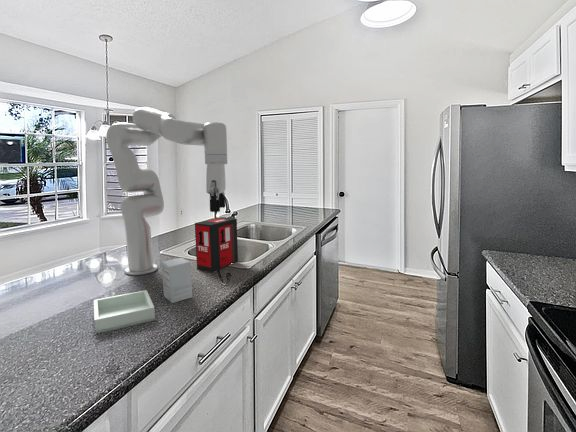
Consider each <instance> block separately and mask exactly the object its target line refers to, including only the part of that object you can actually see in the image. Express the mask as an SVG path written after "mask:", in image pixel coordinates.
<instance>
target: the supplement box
mask: <svg viewBox="0 0 576 432" xmlns="http://www.w3.org/2000/svg"><path fill="white" fill-rule="evenodd" d="M191 266H192V265H191V262H190V261H189V260H188V259H185V258H183V257H176V258H173V259H168V260H162V261H161V273H162V287H163V297H164V298H165V299H167V300H168V301H169V302H170V303H171V304H175V303H177V302H182V301H183V300H184V301H185V300H187V299H192V298H193V283H192V267H191Z"/></svg>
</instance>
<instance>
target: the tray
mask: <svg viewBox="0 0 576 432" xmlns="http://www.w3.org/2000/svg"><path fill="white" fill-rule="evenodd" d="M93 309H94V310H93V318H94V319H93V320H94V327H95V328H94V329H95V334H96V333H98V334H101V332H102V333H106V332H110V331H115V330H119V329H123V328H127V327H132V326H136V325H141V324H144V323H150V322H153V321H156V314H155V313H156V312H155V305H154V303H153V301H152V299H151V296H150V294H149V293H148V290H147V289H145V290H139V291H134V292H127V293H121V294H117V295H113V296H112V295H111V296H106V297H102V298H96V299H93Z"/></svg>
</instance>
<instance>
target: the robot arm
mask: <svg viewBox="0 0 576 432" xmlns="http://www.w3.org/2000/svg"><path fill="white" fill-rule="evenodd" d="M132 121H133V123H130V122H116V123H113V124H111V125H110V126H109V127H108V129H107V132H106V136H105V138H106V139H105V140H106V144H107V148H108V150H109V152H110V155H111V158H112V159H113V160H112V161H113V162H114V168H115V172H116V176H117V180H118V186H119V187H120V189H121V190H122V191H123V192H125V193H139V192H140V193H141V192H142V193H143V194H135V195H129V196H127V197H125V198H124V199H122V201H121V202H120V212H121V215H122V219H123V225H124V229H125V240H126V241H125V242H126V252H127V253H126V254H127V264H128V266H127V267H125V269H124V273H125V274H127V275H130V276H139V275H147V274H151V273H153V272H155V271H157V270H158V265H157V264H155V263H154V257H153V255H154V254H153V244H152V243H153V242H152V231H151V230H152V229H151V227H150V224H149V223H148V221H147V220H146V218H149V217H154V216H158V215H160V214H162V213H163V211H164V210H165V202H164V198H163V197H164V196H163V192H162V187H161V182H160V179H159V177H158V175H157V173H156V172H155V171H154V170H152V169H151V168H141V167H139V162H138V157H137V156H136V154H135V153H134V151H133V150H132V149H131V148H130V147H129V146H136V147H137V146H139V147H140V146H142V147H146V146H147V147H148V146H151V145H153V144H154V143H155V142H157V141H158V140H159V139H160V138H161V137H163V139H164V140H165V139H166V140H167V141H171V142H173V143H177V144H179V145H183V146H184V145H185V146H186V145H187V146H203V147H204V165H206V187H205V189H206V193H207V194H209V211H210V213H220V211H221V208H224V209H225V208H226V196H225V194H226V193H225V191H226V170H225V169H226V168H225V167H226V165H228V138H227V134H228V133H227V125H226V124H224V123H223V122H217V121H216V122H212V121H211V122H206V123H198V122H191V121H185V120H180V119H177V118H176V117H175V115H173V114H172V113H170V112H168V111H166V110H164V109H159V108H154V107H153V108H152V107H149V106H144V107H143V106H142V107H138V108H136V109H135V110H134V112H133V114H132Z"/></svg>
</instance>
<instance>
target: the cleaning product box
mask: <svg viewBox="0 0 576 432" xmlns="http://www.w3.org/2000/svg"><path fill="white" fill-rule="evenodd" d="M194 235H195V253H196V254H195V255H196V270H200V271H205V272H208V273H209V272H210V273H216V272H217V271H219V270H222V269H224V268H227V267H230V266H231V265H230V264H231V263H234V264H237V263H238V262H239V255H238V254H239V252H238V251H239V250H238V219H237V218H233V217H225V216H221V217H216V218H212V219H207V220H202V221H198V222H194ZM229 265H230V266H229Z"/></svg>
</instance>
